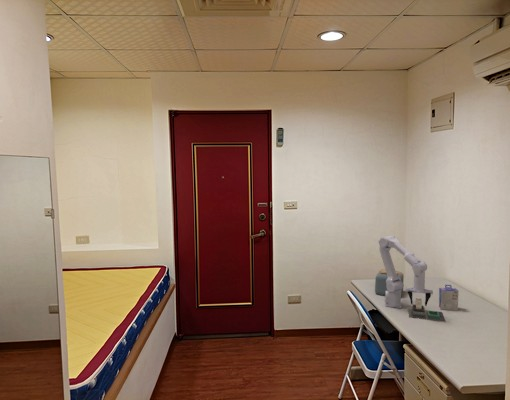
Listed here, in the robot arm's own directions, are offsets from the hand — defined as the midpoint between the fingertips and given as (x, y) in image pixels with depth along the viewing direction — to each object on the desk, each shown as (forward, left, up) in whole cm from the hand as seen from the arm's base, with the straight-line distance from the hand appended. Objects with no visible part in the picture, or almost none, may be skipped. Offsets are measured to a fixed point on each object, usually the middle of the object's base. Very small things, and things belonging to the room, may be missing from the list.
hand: (418, 304), depth 212 cm
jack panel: (+4, 0, -6) cm, 7 cm away
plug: (0, 0, -3) cm, 3 cm away
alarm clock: (-16, +32, -6) cm, 36 cm away
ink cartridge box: (+18, +15, -6) cm, 24 cm away
